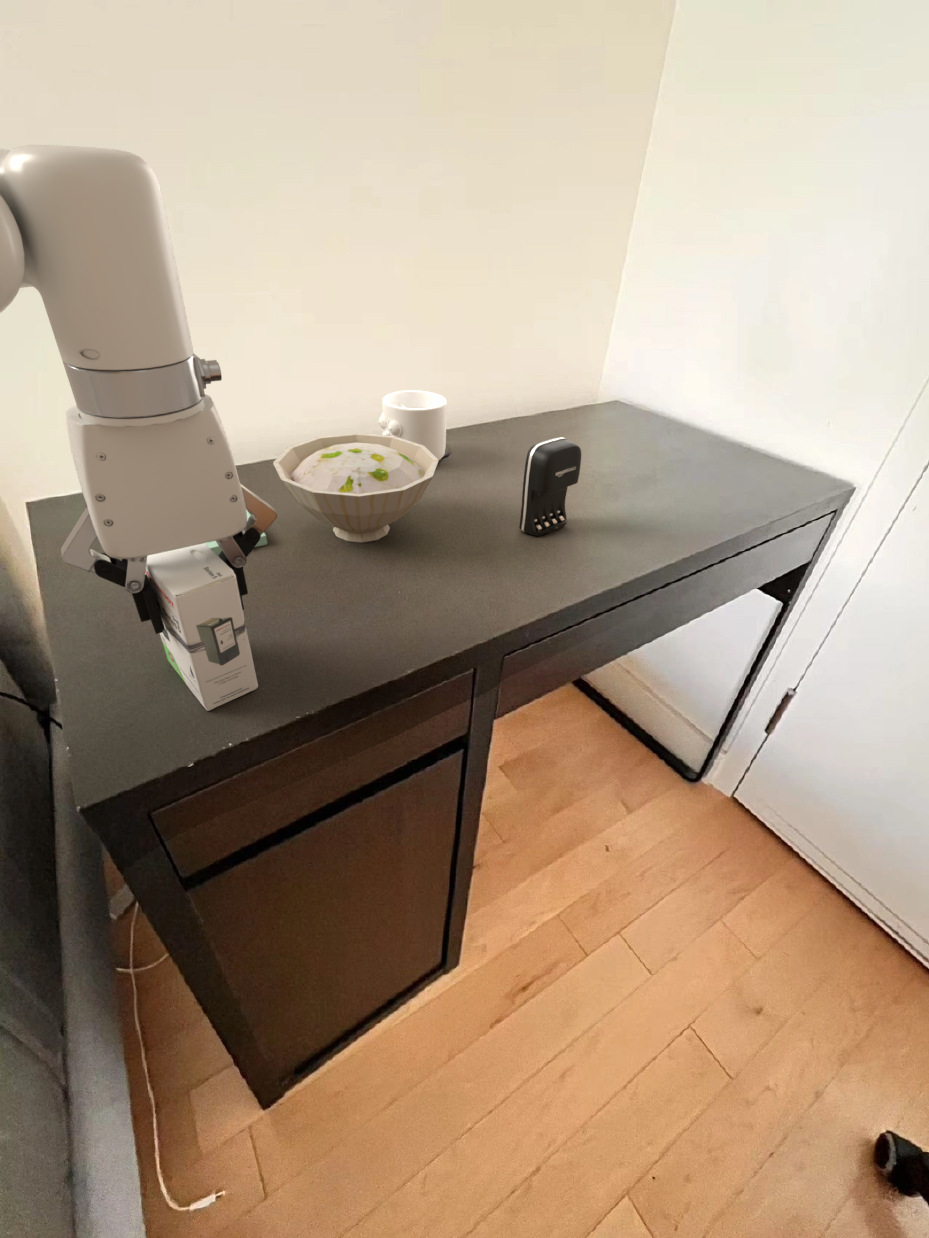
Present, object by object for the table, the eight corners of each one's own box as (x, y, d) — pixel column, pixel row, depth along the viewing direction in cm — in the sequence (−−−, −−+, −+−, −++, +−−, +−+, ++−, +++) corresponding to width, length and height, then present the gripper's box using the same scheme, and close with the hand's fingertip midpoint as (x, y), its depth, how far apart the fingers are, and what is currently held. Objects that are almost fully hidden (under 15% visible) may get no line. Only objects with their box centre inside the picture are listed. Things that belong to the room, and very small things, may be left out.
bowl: (334, 486, 87) (328, 415, 82) (460, 513, 82) (463, 440, 76) (249, 546, 73) (234, 465, 67) (396, 583, 68) (394, 500, 62)
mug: (362, 449, 99) (358, 392, 94) (416, 438, 104) (415, 383, 99) (401, 475, 92) (400, 414, 86) (457, 461, 97) (459, 403, 91)
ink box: (166, 661, 55) (130, 547, 49) (219, 640, 58) (192, 529, 51) (206, 714, 50) (172, 595, 44) (261, 688, 53) (238, 572, 46)
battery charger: (537, 542, 77) (549, 454, 70) (516, 530, 79) (525, 444, 72) (574, 527, 80) (589, 442, 74) (553, 516, 83) (565, 433, 76)
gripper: (253, 360, 46) (283, 566, 57) (-22, 385, 38) (73, 619, 49) (287, 386, 41) (313, 607, 52) (-21, 422, 33) (85, 673, 44)
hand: (196, 611), depth 50 cm, fingers closed on ink box, 5 cm apart
